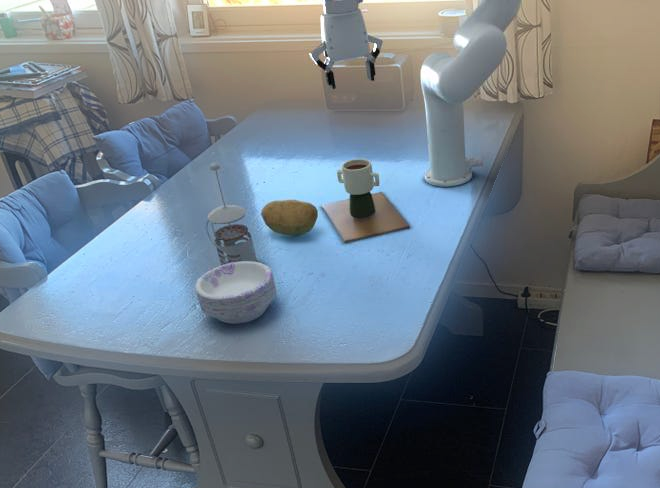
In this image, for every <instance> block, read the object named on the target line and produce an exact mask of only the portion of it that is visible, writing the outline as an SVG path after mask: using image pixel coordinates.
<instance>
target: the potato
mask: <svg viewBox="0 0 660 488" xmlns="http://www.w3.org/2000/svg"><path fill="white" fill-rule="evenodd" d="M260 216H261V217H262V219H263V222H264V224H265V226H266V227H268V228H269V229H270V230H271V231H272V232H274V233H275V234H279V235H283V236H301V235H306V234H307V233H309V232H310V231H311V230H312V229H313V228H314V227H315V225H316V222H317V219H318V217H319V211H318V209H317V207H316V206H315V205H314V204H312V203H311V202H307V201H301V200H297V199H283V200H273V201H270V202H268V203H266V204H265V205H264V207H262V209H261V212H260Z"/></svg>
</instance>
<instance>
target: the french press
mask: <svg viewBox="0 0 660 488" xmlns="http://www.w3.org/2000/svg"><path fill="white" fill-rule="evenodd" d="M220 168H221V167H220V164H219V163H218V162H212V163H211V164H210V166H209V169H210V170H211V171H215V175H216V179H217V183H218V187H219V192H220V195H221V200H222V203H223V205H220V206H219V207H216V208H214V209H213V210H211V211H210V212H209V213H208V215H207V217H206V218H207V221H206V224H205V229H206V234H207V237H208V238H209V240H210V242H211V243H212V244H213V245H214V247H215V249H216V251H217V255H218V258H219V263H220V266H221V265H225V264H228V263H233V262H241V261H253V262H258V261H257V260H258V259H257V256H256V251H255V247H254V241H253V238H252V234H251V233H250V232H249V228H248V227H247V226H246V225H244V224H240V223H237V222H239V221H241V220H243V218H245V217H246V215H247V210H246V209H245V208H244V207H242V206H240V205H236V204H227V205H226V203H225V199H224V195H223V191H222V186H221V183H220V179H219V175H218V170H220ZM209 222H210V223H211V228H212V232H213V234H214V235H213V236H214V237H215V239H214V240H212V238H211V236H210V233H209V229H208V224H209ZM214 225H224V226H221V227H219V228H217V230H215V228H214ZM242 240H243V241H242ZM238 241H241V242H238ZM236 242H238V243H236ZM225 254H226V255H225Z"/></svg>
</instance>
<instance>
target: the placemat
mask: <svg viewBox="0 0 660 488" xmlns="http://www.w3.org/2000/svg"><path fill="white" fill-rule="evenodd" d="M371 195H372V198H373V202H374V206H375V210H376V212H375V213H374V214H372V215H370V216H368V217H365V218H354V217H352V216H351V214H350V198H347V199H343V200H338V201H333V202H329V203H324V204H321V208H322V209H323V211H324V212H325V214H326V215H327V217H328V218H329V220H330V222H331V223H332V225H333V227H334V228H335V230H336V232H337V233H338V234H339V236H340V237H341V239H342V241H343V243H345V244H347V243H350V242H351V243H352V242H356V241H360V240H364V239H368V238H372V237H373V238H374V237H376V236H377V237H378V236H381V235H386V234H390V233H394V232H398V231H399V232H400V231H402V230H407V229H411V226H410V224H409V223H408V221H406V219H405V218H404V217H403V216H402V215H401V213H400V212H399V211H398V210H397V209H396V207H395V206H394V205H393V203H391V201H390V200H389V199H388V197H387V196H386V195H385V194H384V193H383V192H382V191H380V192H375V193H371Z"/></svg>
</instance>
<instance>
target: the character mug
mask: <svg viewBox="0 0 660 488" xmlns="http://www.w3.org/2000/svg"><path fill="white" fill-rule="evenodd" d="M336 174H337V181H338V183H339V184H343V187H344V190H345V193H347V194H349V199H350V214H351V216H352V217H354V218H365V217H368V216H370V215H372V214H374V213H375V212H376V210H375V206H374V202H373V198H372V195H371V194H372V193H371V191H372V190H373V189H374V187H380V175H379V173H377V172H374V171H373V165H372V162H371V160H369V159H366V158H354V159H349V160H346V161H344V162H343V163H341V169H337V171H336Z"/></svg>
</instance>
